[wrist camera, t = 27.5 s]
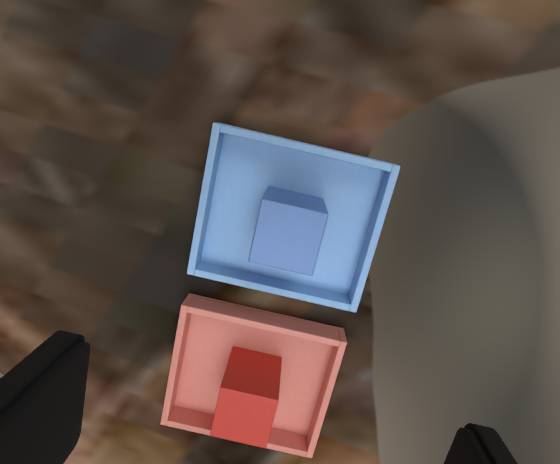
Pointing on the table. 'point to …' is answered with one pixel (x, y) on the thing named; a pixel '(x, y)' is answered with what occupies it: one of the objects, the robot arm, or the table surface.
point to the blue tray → (299, 178)
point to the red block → (248, 397)
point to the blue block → (289, 230)
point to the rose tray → (262, 338)
